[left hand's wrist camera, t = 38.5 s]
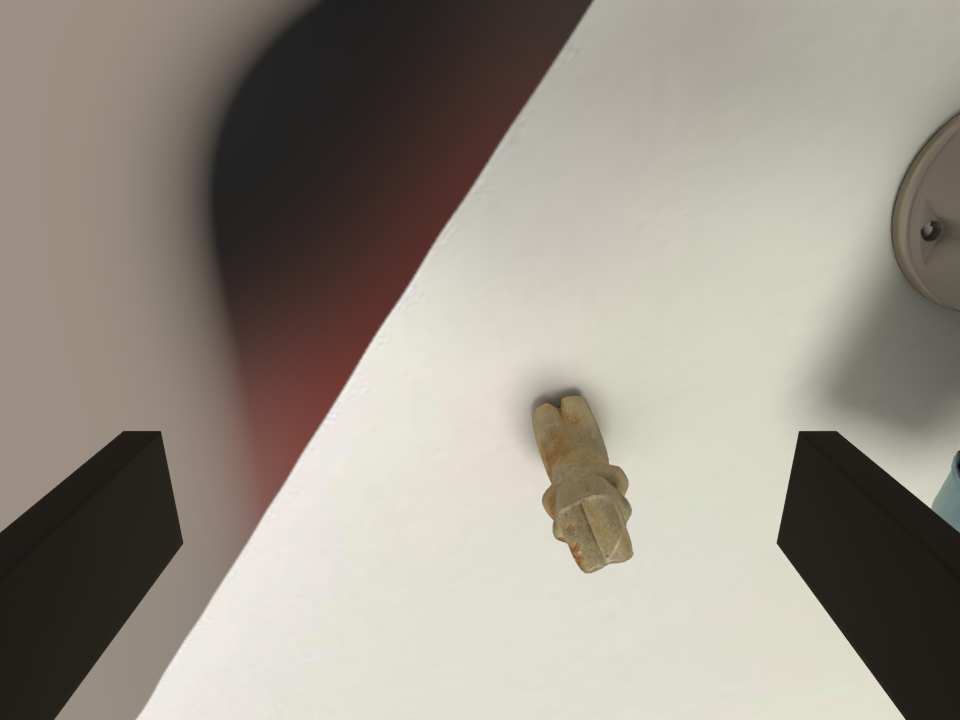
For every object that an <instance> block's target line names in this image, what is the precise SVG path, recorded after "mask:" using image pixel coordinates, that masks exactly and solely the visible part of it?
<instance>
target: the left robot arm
mask: <svg viewBox="0 0 960 720" xmlns="http://www.w3.org/2000/svg"><path fill="white" fill-rule="evenodd" d="M892 233H893V244H894V250H895V254H896V258H897V261H898V263H899V266H900V268H901V270H902V272H903V273H904V275H905V277H906V278H907V279H908V281H909V282H910V283H911V285H912V286H913V287H914V288H915V289H916V290H917V291H919V292H920V293H921V294H922V295H924V296H925V297H927V298H928V299H930V300H932V301H934V302H936V303H938V304H940V305H943V306H946V307H949V308H951V309H954V310H957V311H960V114H959V115H957V116H956V117H954V118H953V119H952V120H951V121H949V122H948V123H947V124H946V125H945V126H944V127H942V128H941V129H940V130H939V131H938V132H937V133H936V134H935V135H934V136H933V137H932V139H931V140H930V141H929V142H928V143H927V144H926V145H925V147H924V148H923V149H922V151H921V152H920V153H919V155H918V156H917V158H916V159H915V161H914V162H913V164H912V166H911V167H910V169H909V171H908V173H907V175H906V177H905V179H904V181H903V183H902V186H901V188H900V191H899V194H898V197H897V201H896V205H895V209H894V216H893V227H892ZM182 544H183V539H182V534H181V530H180V524H179V520H178V515H177V509H176V505H175V499H174V495H173V490H172V484H171V479H170V474H169V470H168V465H167V459H166V454H165V449H164V445H163V439H162V435H161V431H123V432H122V433H121V434H120V435H118V436H117V437H116V438H115V439H114V440H112V441H111V442H110V443H109V444H107V445H106V446H105V447H104V448H103V449H101V450H100V451H99V452H98V453H96V454H95V455H94V456H93V457H92V458H90V459H89V460H88V461H87V462H86V463H84V464H83V465H82V466H81V467H80V468H78V469H77V470H76V471H75V472H73V473H72V474H71V475H70V476H69V477H67V478H66V479H65V480H64V481H63V482H61V483H60V484H59V485H58V486H56V487H55V488H54V489H53V490H52V491H50V492H49V493H48V494H47V495H45V496H44V497H43V498H42V499H41V500H39V501H38V502H37V503H36V504H35V505H33V506H32V507H31V508H30V509H28V510H27V511H26V512H25V513H24V514H22V515H21V516H20V517H19V518H18V519H16V520H15V521H14V522H13V523H11V524H10V525H9V526H8V527H7V528H5V529H4V530H3V531H2V532H1V533H0V720H54V719H55V718H56V716H57V715H58V714H59V712H60V711H61V710H62V708H63V707H64V706H65V704H66V703H67V702H68V700H69V699H70V697H71V696H72V695H73V693H74V692H75V690H76V689H77V688H78V686H79V685H80V684H81V682H82V681H83V680H84V678H85V677H86V676H87V674H88V673H89V671H90V670H91V669H92V667H93V666H94V665H95V663H96V662H97V660H98V659H99V658H100V656H101V655H102V654H103V652H104V651H105V650H106V648H107V647H108V645H109V644H110V643H111V641H112V640H113V639H114V637H115V636H116V635H117V633H118V632H119V630H120V629H121V628H122V626H123V625H124V624H125V622H126V621H127V619H128V618H129V617H130V615H131V614H132V613H133V611H134V610H135V609H136V607H137V606H138V604H139V603H140V602H141V600H142V599H143V598H144V596H145V595H146V594H147V592H148V591H149V589H150V588H151V587H152V585H153V584H154V583H155V581H156V580H157V578H158V577H159V576H160V574H161V573H162V572H163V570H164V569H165V568H166V566H167V565H168V563H169V562H170V561H171V559H172V558H173V557H174V555H175V554H176V552H177V551H178V550H179V548H180V547H181V546H182ZM777 544H778V546H779V547H780V548H781V550H782V551H783V553H784V554H785V555H786V557H787V558H788V559H789V561H790V562H791V563H792V565H793V566H794V568H795V569H796V570H797V572H798V573H799V574H800V576H801V577H802V579H803V580H804V581H805V583H806V584H807V585H808V587H809V588H810V589H811V591H812V592H813V594H814V595H815V596H816V598H817V599H818V600H819V602H820V603H821V604H822V606H823V607H824V609H825V610H826V611H827V613H828V614H829V615H830V617H831V618H832V620H833V621H834V622H835V624H836V625H837V626H838V628H839V629H840V630H841V632H842V633H843V635H844V636H845V637H846V639H847V640H848V641H849V643H850V644H851V645H852V647H853V648H854V650H855V651H856V652H857V654H858V655H859V656H860V658H861V659H862V661H863V662H864V663H865V665H866V666H867V667H868V669H869V670H870V671H871V673H872V674H873V676H874V677H875V678H876V680H877V681H878V682H879V684H880V685H881V686H882V688H883V689H884V691H885V692H886V693H887V695H888V696H889V697H890V699H891V700H892V702H893V703H894V704H895V706H896V707H897V708H898V710H899V711H900V712H901V714H902V715H903V717H904V718H905V719H906V720H960V451H958V452H957V453H956V455H955V457H954V458H953V461H952V470H951V472H950V474H949V475H948V477H947V479H946V480H945V482H944V484H943V486H942V487H941V489H940V491H939V492H938V494H937V496H936V498H935V500H934V502H933V504H932V508H931V509H930V508H929V507H928V506H927V505H925V504H924V503H923V502H922V501H921V500H919V499H918V498H917V497H916V496H915V495H913V494H912V493H911V492H910V491H908V490H907V489H906V488H905V487H904V486H902V485H901V484H900V483H899V482H898V481H896V480H895V479H894V478H893V477H891V476H890V475H889V474H888V473H887V472H885V471H884V470H883V469H882V468H881V467H879V466H878V465H877V464H876V463H874V462H873V461H872V460H871V459H870V458H868V457H867V456H866V455H865V454H864V453H862V452H861V451H860V450H859V449H857V448H856V447H855V446H854V445H853V444H851V443H850V442H849V441H848V440H847V439H845V438H844V437H843V436H842V435H840V434H839V433H838V432H837V431H799V434H798V439H797V444H796V449H795V454H794V459H793V464H792V469H791V474H790V479H789V484H788V489H787V494H786V499H785V504H784V509H783V514H782V519H781V524H780V529H779V534H778V539H777Z"/></svg>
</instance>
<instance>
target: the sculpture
mask: <svg viewBox="0 0 960 720" xmlns="http://www.w3.org/2000/svg"><path fill="white" fill-rule="evenodd" d="M532 421H533V428H534V432H535V437H536V440H537V444H538V448H539V451H540V455H541V458H542V461H543V464H544V466H545V469H546V472H547V475H548V477H549V479H550V481H551V483H552V484H551V486H550V487H549V488H548V489H547V490H546V492H545V493H544V495H543V498H542V504H543V506H544V508H545V510H546V512H547V513H548V515H549V516H550V517H551V518H552V519H553V520H554V522H553V534H554V537H555V538H556V539H557V540H559V541H562V542H565V543H567V544H568V546H569V548H570V550H571V553H572V555H573V558H574V559H575V561H576V563H577V565H578V566H579V567H580V569H581V570H582V571H583V572H584V573H592V572H595V571H597V570H600V569H602V568H603V567H604V566H606V565H608V564H611V563H621V562H625V561H627V560H629V559H630V558H631V557H632V556H633V551H632V544H631V540H630V537H629V534H628V531H627V528H626V523H627V521H628V519H629V518H630V516H631V512H632V509H631V506H630V504H629V502H628V500H627V499H626V498H625V497H624V496H625V494H626V491H627V489H628V479H627V477H626V475H625V473H624V472H623V470H622V469H621V468H620V467H618V466H614V465H609V459H608V454H607V450H606V447H605V444H604V441H603V438H602V436H601V433H600V430H599V428H598V425H597V423H596V420H595V418H594V416H593V414H592V412H591V410H590V407H589V405H588V403H587V401H586V400H585V399H584V398H582V397H581V396H568V397H564V398H562V400H561V405H560V407H559V408H557V407H555V406H553V405H551V404H548V403H544V404H542V405H540V406H539V407H538V408H536V409H535V411H534V413H533V417H532Z"/></svg>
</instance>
